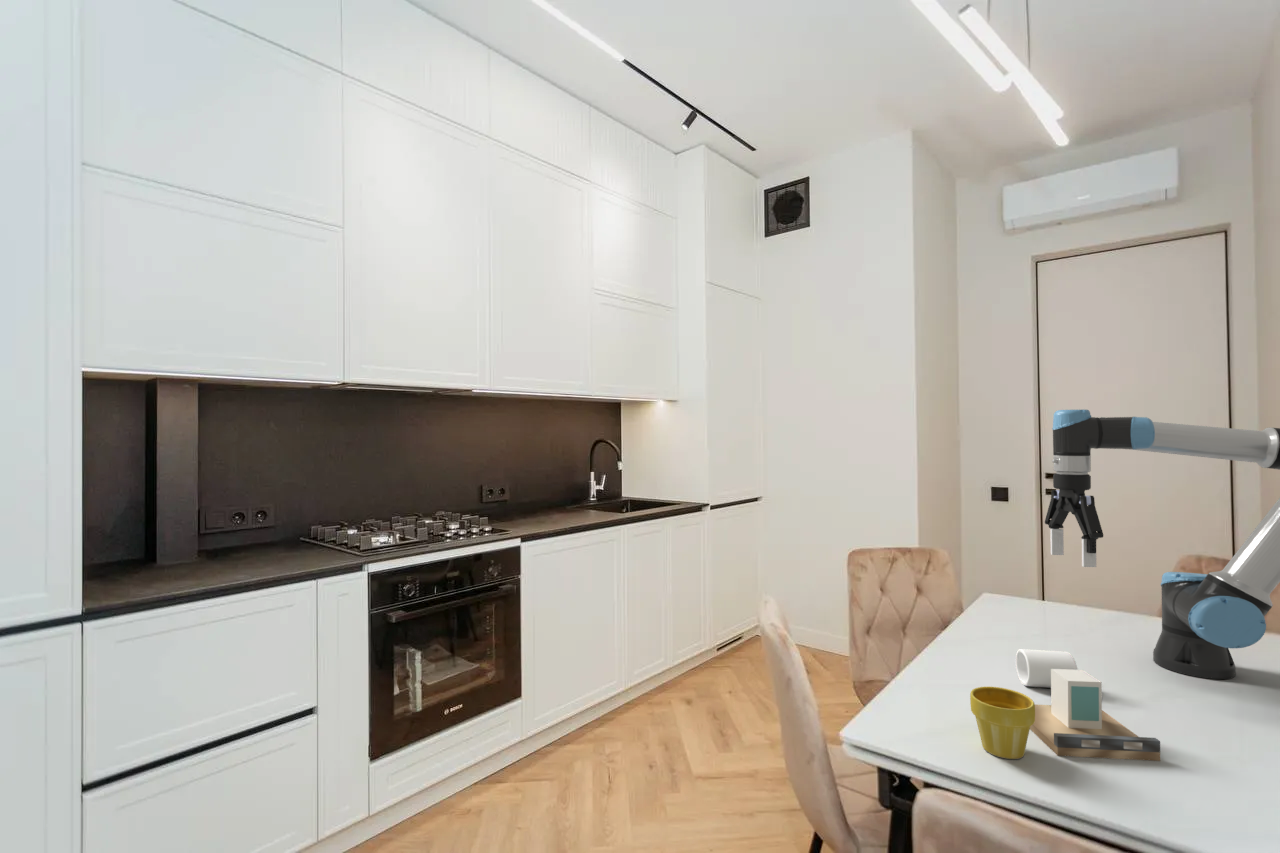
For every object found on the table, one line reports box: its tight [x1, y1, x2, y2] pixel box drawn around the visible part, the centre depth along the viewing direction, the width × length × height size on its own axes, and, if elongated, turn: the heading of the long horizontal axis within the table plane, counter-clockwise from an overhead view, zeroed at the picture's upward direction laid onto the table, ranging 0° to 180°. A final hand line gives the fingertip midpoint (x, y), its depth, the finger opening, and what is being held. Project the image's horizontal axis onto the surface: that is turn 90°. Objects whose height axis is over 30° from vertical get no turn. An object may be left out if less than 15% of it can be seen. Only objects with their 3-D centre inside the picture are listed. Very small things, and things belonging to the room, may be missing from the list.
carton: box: [1050, 669, 1103, 729], centre depth 123 cm, size 6×6×9 cm
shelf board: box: [1029, 703, 1161, 762], centre depth 120 cm, size 17×18×4 cm
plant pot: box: [969, 686, 1035, 760], centre depth 115 cm, size 10×10×10 cm
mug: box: [1015, 648, 1079, 689], centre depth 145 cm, size 12×10×8 cm
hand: (1072, 560), depth 151 cm, fingers open, 13 cm apart
